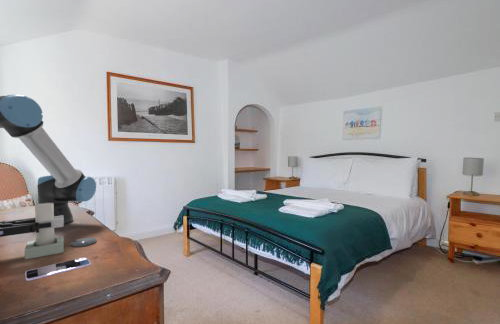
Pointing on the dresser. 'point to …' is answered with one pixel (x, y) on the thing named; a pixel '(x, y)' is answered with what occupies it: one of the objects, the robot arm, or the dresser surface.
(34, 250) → the holder
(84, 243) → the coaster
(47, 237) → the grey tall block
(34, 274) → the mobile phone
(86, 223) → the dresser surface
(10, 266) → the dresser surface
